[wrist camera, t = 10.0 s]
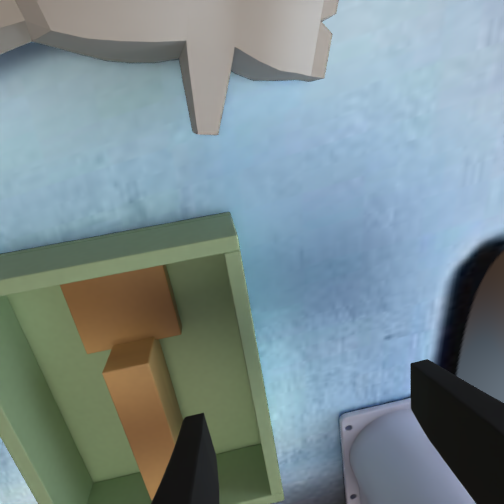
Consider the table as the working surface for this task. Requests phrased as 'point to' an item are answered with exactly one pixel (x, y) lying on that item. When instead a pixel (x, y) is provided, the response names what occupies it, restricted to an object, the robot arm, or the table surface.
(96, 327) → the spatula
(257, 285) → the table surface
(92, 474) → the bin
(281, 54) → the bunny figurine
